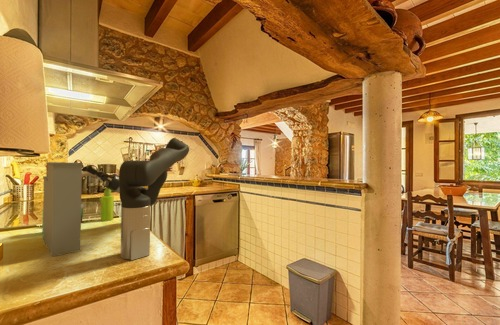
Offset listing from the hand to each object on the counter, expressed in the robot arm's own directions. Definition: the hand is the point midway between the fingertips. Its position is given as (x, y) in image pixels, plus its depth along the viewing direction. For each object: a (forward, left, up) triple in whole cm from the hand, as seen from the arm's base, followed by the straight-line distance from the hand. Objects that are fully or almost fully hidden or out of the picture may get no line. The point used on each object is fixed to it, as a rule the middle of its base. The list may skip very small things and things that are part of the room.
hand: (84, 168), depth 102 cm
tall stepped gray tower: (-9, +9, -29) cm, 32 cm away
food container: (+24, -1, -30) cm, 38 cm away
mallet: (0, +3, -3) cm, 5 cm away
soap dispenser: (+20, -15, -30) cm, 39 cm away
